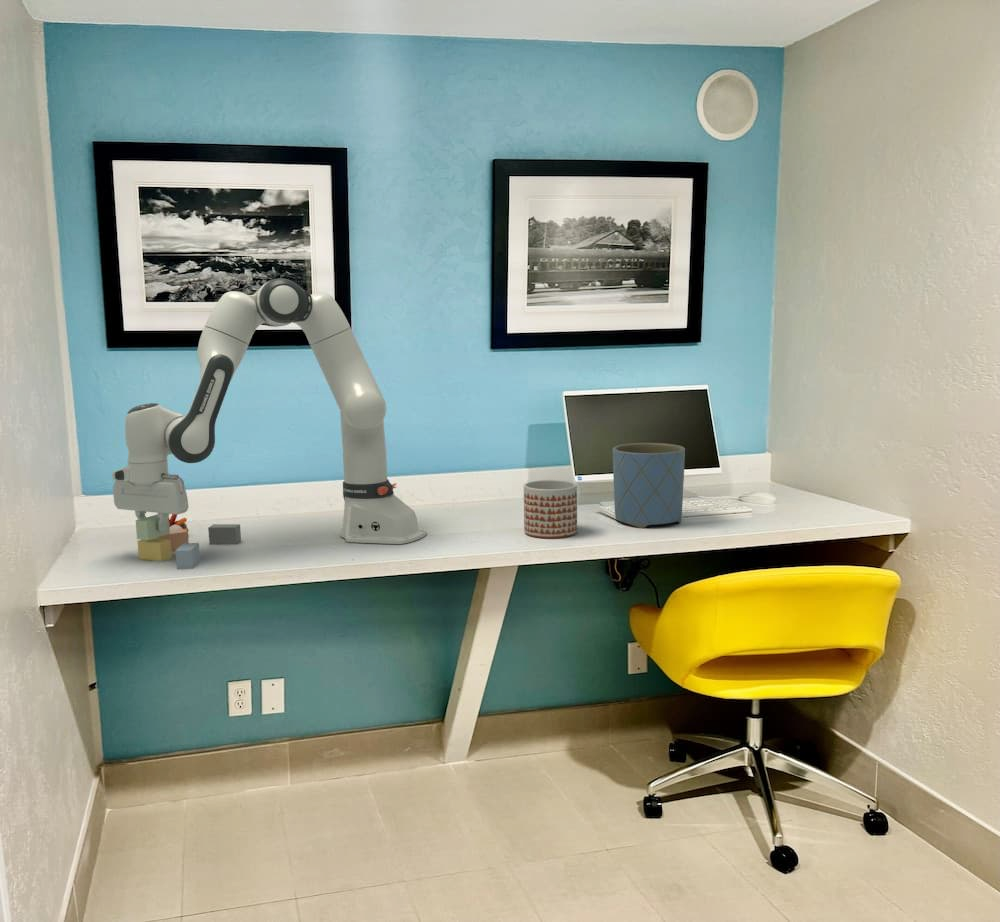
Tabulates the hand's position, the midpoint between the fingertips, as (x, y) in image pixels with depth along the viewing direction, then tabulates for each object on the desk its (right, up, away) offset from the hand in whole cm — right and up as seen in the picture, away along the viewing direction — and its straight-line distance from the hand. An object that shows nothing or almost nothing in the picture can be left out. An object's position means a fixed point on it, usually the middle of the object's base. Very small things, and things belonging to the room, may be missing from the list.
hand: (153, 529), depth 228 cm
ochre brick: (0, -7, +1) cm, 7 cm away
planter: (+123, 0, +29) cm, 126 cm away
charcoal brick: (+13, -5, +15) cm, 20 cm away
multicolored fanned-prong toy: (-3, -4, +21) cm, 22 cm away
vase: (+96, -2, +19) cm, 98 cm away
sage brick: (0, -2, 0) cm, 2 cm away
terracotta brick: (+2, -6, +9) cm, 11 cm away
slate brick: (+10, -8, -6) cm, 14 cm away
